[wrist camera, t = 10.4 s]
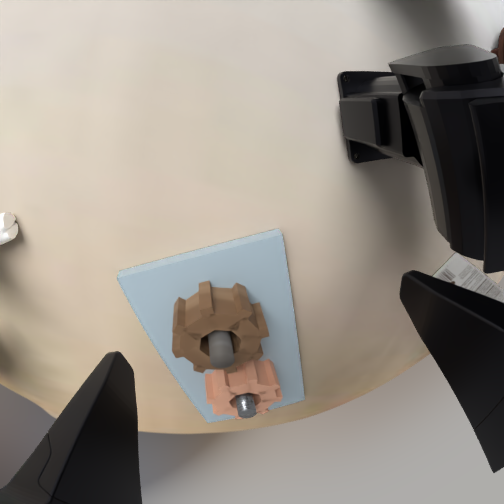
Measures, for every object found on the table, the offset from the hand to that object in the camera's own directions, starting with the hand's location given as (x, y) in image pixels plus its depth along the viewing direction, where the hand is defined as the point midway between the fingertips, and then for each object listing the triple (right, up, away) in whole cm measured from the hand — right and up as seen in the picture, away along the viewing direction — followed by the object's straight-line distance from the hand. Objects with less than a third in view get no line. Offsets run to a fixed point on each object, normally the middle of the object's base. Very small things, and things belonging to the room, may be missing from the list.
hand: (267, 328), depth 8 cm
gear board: (-2, -7, +17) cm, 19 cm away
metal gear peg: (-2, -10, +17) cm, 20 cm away
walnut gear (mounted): (-3, -3, +14) cm, 14 cm away
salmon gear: (-2, -10, +18) cm, 20 cm away
